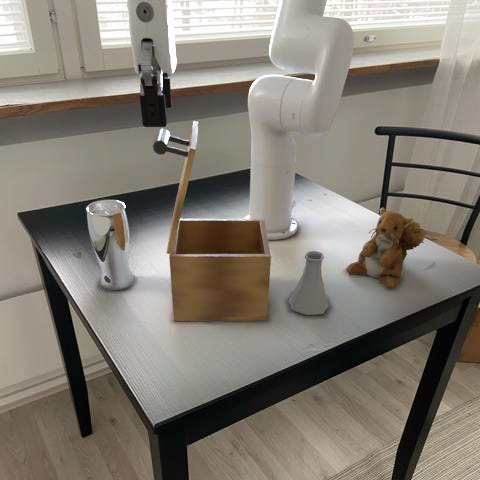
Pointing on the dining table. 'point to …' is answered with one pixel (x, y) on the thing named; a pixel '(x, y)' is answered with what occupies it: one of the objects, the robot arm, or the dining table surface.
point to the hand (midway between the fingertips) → (158, 116)
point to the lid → (161, 148)
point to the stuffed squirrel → (388, 248)
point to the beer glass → (110, 242)
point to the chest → (220, 270)
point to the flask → (310, 287)
